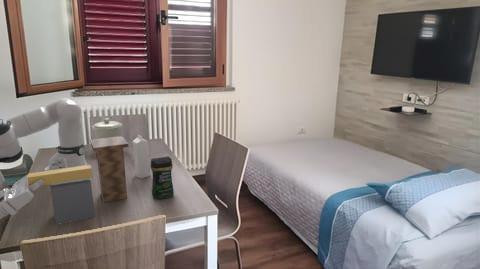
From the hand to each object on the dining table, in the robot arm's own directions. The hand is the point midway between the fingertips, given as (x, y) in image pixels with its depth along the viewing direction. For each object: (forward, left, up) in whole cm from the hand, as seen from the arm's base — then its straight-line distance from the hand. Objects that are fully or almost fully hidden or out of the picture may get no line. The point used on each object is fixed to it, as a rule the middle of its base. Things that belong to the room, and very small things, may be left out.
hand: (42, 177), depth 132 cm
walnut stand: (+12, +26, -18) cm, 34 cm away
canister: (-29, +89, -19) cm, 95 cm away
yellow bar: (+5, +4, -2) cm, 7 cm away
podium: (+7, +6, -18) cm, 21 cm away
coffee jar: (+34, +31, -19) cm, 50 cm away
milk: (+13, +52, -19) cm, 57 cm away
